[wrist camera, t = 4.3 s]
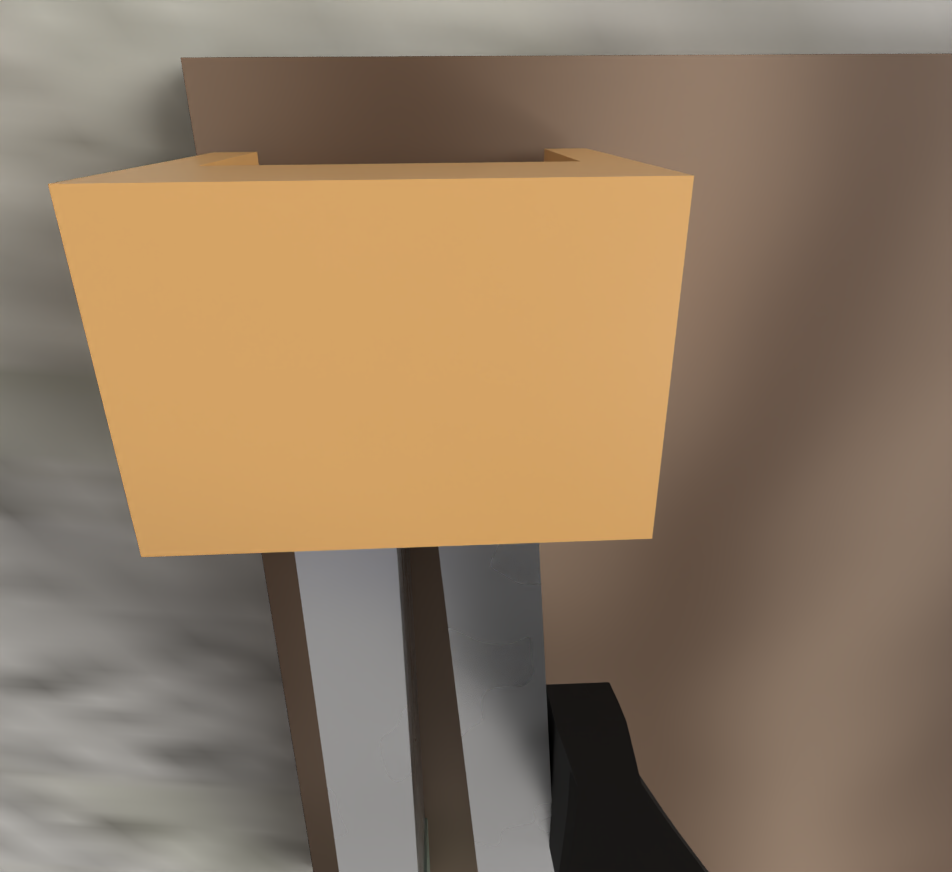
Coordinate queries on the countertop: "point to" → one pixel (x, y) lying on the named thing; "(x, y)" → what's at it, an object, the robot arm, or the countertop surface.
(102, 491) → the countertop surface
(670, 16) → the countertop surface
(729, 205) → the tong board
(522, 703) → the tong arm
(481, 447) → the collar
